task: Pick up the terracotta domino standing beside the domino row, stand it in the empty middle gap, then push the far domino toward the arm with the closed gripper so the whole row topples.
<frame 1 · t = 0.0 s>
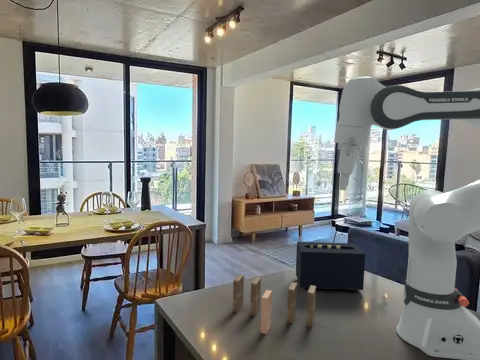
hand: (343, 187, 96), 39 cm above the kitchen counter, tool pointing down, fingers open, 8 cm apart
domino 2: (255, 312, 104), on the kitchen counter
domino 4: (291, 318, 100), on the kitchen counter
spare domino: (265, 328, 95), on the kitchen counter
speaker: (327, 286, 125), on the kitchen counter
domino 5: (310, 322, 98), on the kitchen counter
domino 1: (238, 308, 106), on the kitchen counter
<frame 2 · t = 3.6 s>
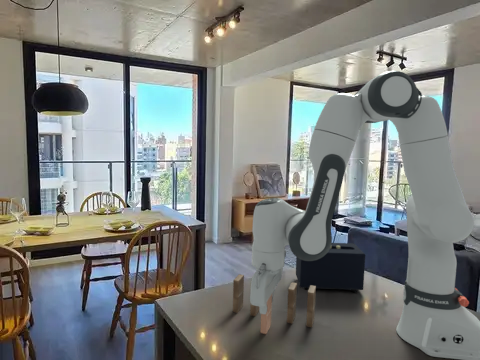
hand: (266, 307, 94), 6 cm above the kitchen counter, tool pointing down, fingers closed on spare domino, 5 cm apart
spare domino: (265, 328, 95), on the kitchen counter, touching gripper
everything else where it was.
when the fingers open (7 cm above the kitchen counter, at t = 8.9 s): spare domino stays where it is, on the kitchen counter.
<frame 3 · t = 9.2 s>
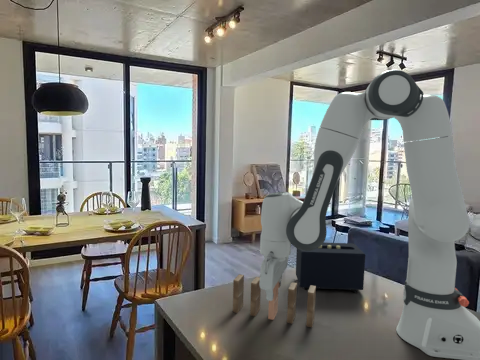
hand: (273, 293, 101), 7 cm above the kitchen counter, tool pointing down, fingers open, 8 cm apart
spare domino: (272, 315, 102), on the kitchen counter
everything else where it was.
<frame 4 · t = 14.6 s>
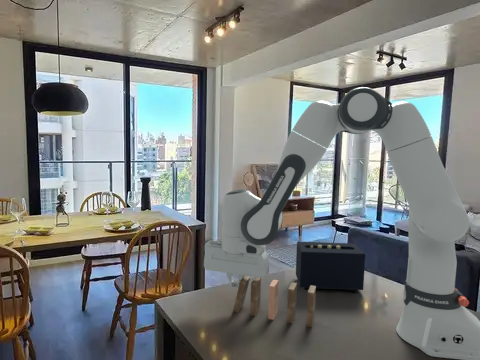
hand: (235, 287, 105), 7 cm above the kitchen counter, tool pointing down, fingers closed
domino 1: (238, 308, 106), on the kitchen counter, tilted 12°, touching gripper
everything else where it was.
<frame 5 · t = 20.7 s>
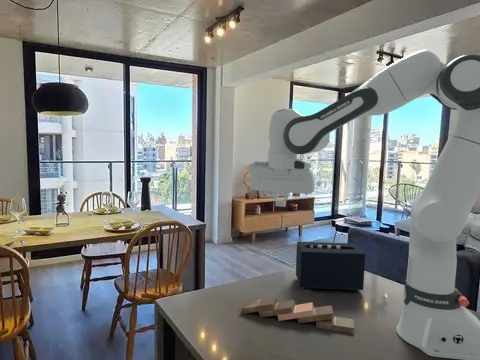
hand: (280, 206, 109), 31 cm above the kitchen counter, tool pointing down, fingers closed
domino 2: (261, 310, 103), point 1 cm above the kitchen counter, tilted 72°, touching domino 1, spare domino
domino 4: (298, 316, 100), point 1 cm above the kitchen counter, tilted 75°, touching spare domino
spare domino: (279, 314, 101), point 1 cm above the kitchen counter, tilted 72°, touching domino 2, domino 4
domino 5: (316, 320, 98), point 1 cm above the kitchen counter, tilted 89°
domino 1: (244, 307, 105), point 1 cm above the kitchen counter, tilted 73°, touching domino 2
everything else where it was.
at the end: domino 5 tilted 89°; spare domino tilted 72° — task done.
